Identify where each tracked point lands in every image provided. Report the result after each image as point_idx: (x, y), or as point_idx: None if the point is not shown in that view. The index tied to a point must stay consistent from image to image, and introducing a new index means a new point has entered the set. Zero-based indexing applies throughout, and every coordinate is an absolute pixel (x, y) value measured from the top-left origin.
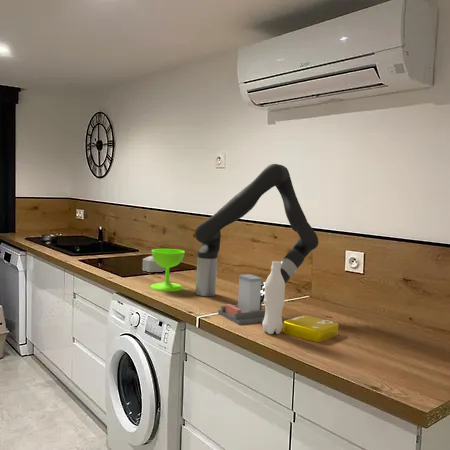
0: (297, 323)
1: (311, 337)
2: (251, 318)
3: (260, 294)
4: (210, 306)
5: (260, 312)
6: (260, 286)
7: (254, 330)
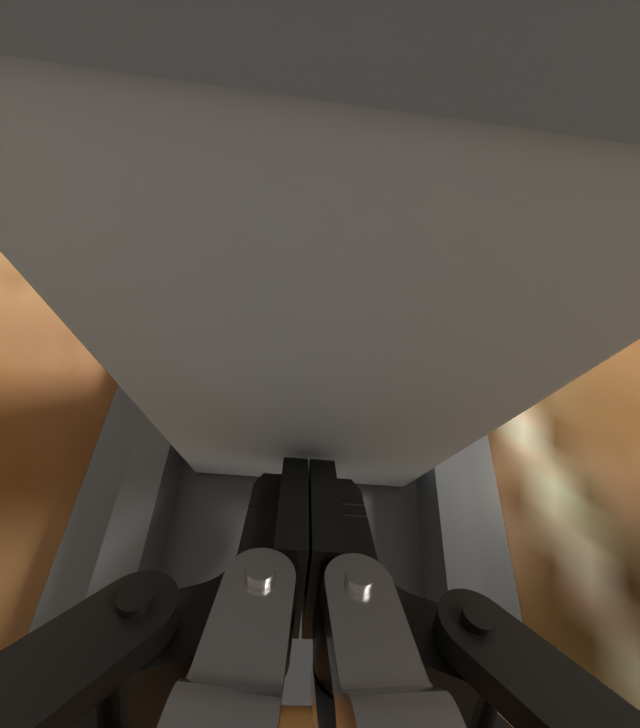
0: None
1: None
2: None
3: (111, 375)
4: (636, 348)
5: (140, 437)
6: (10, 235)
7: (13, 276)
